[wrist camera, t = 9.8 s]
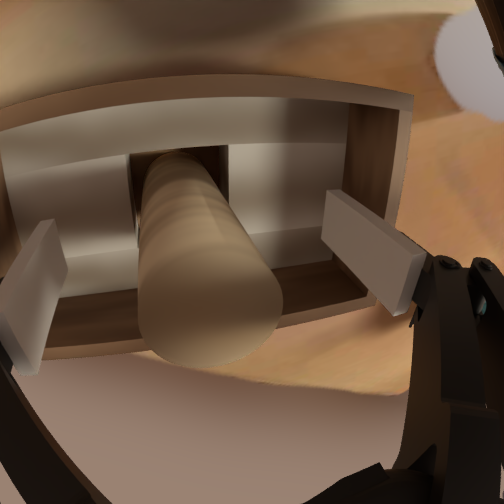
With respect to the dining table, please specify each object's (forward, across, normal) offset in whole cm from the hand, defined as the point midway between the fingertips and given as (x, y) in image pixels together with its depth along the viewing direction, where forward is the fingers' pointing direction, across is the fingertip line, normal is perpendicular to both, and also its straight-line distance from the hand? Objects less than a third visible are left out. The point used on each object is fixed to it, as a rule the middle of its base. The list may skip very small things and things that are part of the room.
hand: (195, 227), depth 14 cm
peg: (+8, 0, 0) cm, 8 cm away
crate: (+8, 0, 0) cm, 8 cm away
